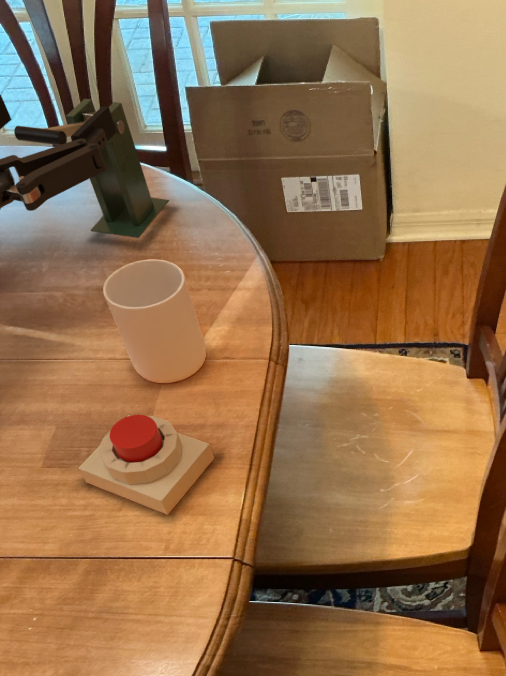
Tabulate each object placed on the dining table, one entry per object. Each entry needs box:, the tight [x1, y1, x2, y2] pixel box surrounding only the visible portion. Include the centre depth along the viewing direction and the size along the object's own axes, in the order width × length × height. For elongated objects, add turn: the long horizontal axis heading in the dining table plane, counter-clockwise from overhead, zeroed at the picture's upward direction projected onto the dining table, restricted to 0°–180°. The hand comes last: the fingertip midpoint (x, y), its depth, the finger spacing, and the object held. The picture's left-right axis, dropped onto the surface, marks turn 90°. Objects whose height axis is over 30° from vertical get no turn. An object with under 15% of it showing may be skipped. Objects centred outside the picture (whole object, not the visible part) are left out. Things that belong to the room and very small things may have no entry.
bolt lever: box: [13, 110, 98, 146], centre depth 88 cm, size 13×6×2 cm, turn 164°
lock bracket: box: [65, 98, 170, 239], centre depth 97 cm, size 9×7×15 cm
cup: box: [102, 258, 207, 384], centre depth 84 cm, size 8×12×10 cm
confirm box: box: [78, 414, 215, 516], centre depth 75 cm, size 10×8×4 cm
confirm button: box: [109, 414, 163, 463], centre depth 73 cm, size 4×4×2 cm
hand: (56, 112), depth 85 cm, fingers open, 13 cm apart
